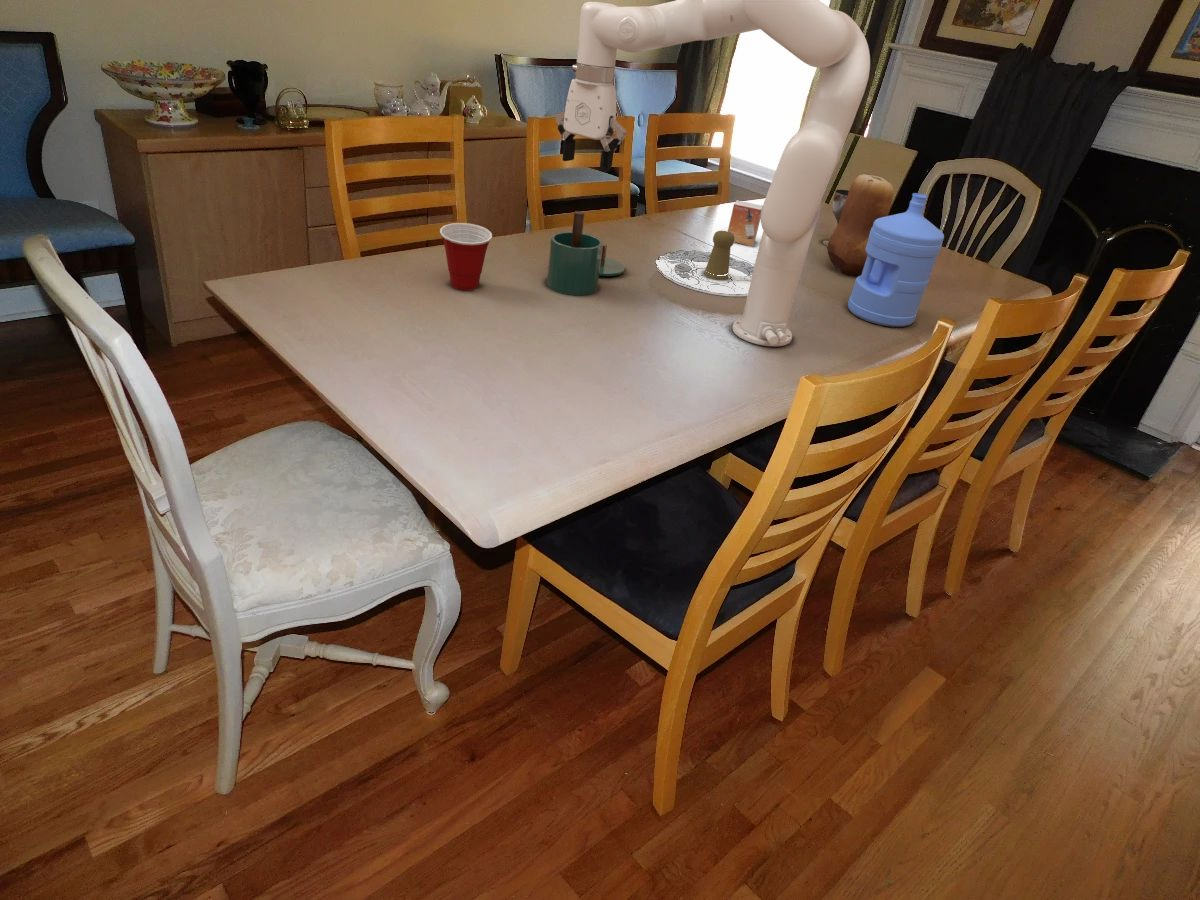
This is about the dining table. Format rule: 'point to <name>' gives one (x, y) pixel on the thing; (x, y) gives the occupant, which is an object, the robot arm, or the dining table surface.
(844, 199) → the wine glass
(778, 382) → the dining table surface
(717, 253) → the olive pawn
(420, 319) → the dining table surface
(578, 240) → the peg on round base
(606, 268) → the jar lid
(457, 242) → the plastic cup
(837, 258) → the butternut squash
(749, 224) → the small box
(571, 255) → the jar
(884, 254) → the water jug
